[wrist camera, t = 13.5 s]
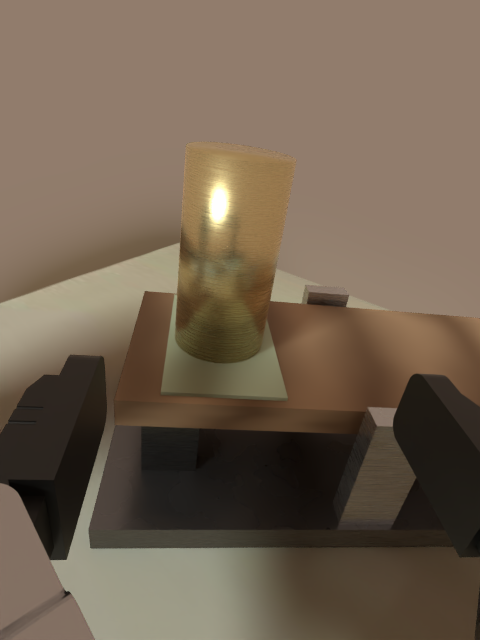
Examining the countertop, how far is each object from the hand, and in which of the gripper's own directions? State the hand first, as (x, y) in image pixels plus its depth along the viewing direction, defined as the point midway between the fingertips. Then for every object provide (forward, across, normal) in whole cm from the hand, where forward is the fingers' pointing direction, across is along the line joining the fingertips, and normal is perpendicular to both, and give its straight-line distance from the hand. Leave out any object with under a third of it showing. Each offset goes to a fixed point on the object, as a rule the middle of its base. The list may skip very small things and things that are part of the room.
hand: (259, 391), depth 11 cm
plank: (+12, -8, +7) cm, 16 cm away
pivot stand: (+12, -8, +14) cm, 20 cm away
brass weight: (+12, 0, +6) cm, 13 cm away
